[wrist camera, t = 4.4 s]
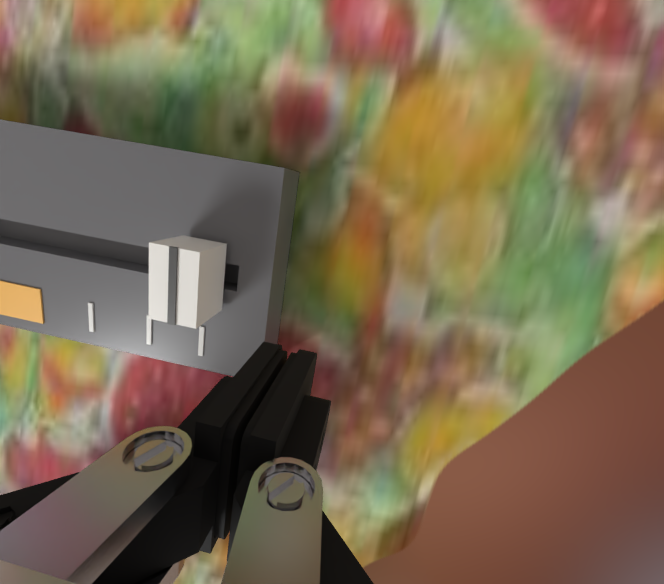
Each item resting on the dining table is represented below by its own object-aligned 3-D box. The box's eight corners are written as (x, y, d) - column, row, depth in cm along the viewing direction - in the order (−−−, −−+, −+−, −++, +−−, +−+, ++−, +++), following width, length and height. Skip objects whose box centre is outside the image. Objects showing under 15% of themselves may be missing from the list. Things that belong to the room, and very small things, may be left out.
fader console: (-30, 116, 23) (-102, 101, 19) (299, 172, 21) (284, 167, 18) (-5, 296, 27) (-62, 311, 23) (275, 357, 25) (259, 383, 21)
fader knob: (196, 232, 21) (147, 242, 16) (237, 240, 20) (198, 252, 16) (193, 294, 22) (147, 319, 17) (232, 302, 22) (194, 329, 17)
